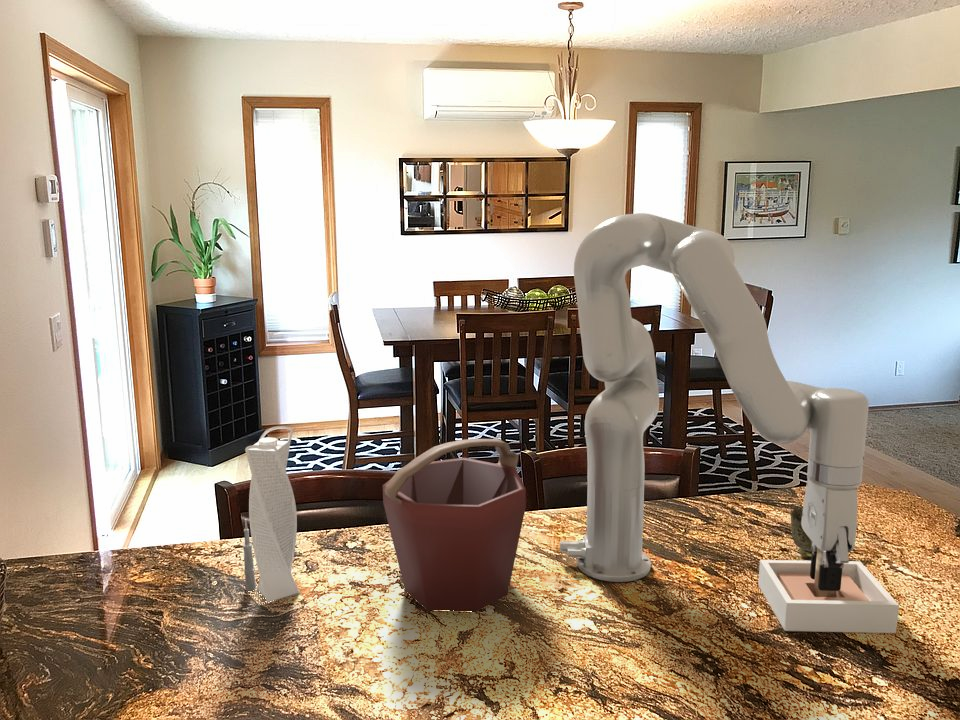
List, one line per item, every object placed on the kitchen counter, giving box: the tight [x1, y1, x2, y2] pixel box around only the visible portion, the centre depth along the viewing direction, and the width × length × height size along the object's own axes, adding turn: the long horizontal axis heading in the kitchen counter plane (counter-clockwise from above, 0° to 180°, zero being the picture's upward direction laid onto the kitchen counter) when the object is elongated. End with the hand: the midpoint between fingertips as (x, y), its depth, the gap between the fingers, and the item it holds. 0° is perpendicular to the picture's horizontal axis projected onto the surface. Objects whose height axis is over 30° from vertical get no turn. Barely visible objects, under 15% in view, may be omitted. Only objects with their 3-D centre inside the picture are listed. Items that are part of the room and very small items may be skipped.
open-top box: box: [757, 559, 900, 634], centre depth 125 cm, size 16×14×4 cm
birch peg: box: [813, 545, 837, 597], centre depth 124 cm, size 3×3×10 cm
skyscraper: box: [242, 425, 301, 606], centre depth 130 cm, size 8×8×28 cm
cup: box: [790, 506, 815, 560], centre depth 142 cm, size 8×7×8 cm
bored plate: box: [777, 573, 869, 601], centre depth 125 cm, size 11×11×2 cm
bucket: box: [382, 438, 527, 613], centre depth 130 cm, size 24×22×25 cm
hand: (824, 583), depth 125 cm, fingers closed on birch peg, 2 cm apart
